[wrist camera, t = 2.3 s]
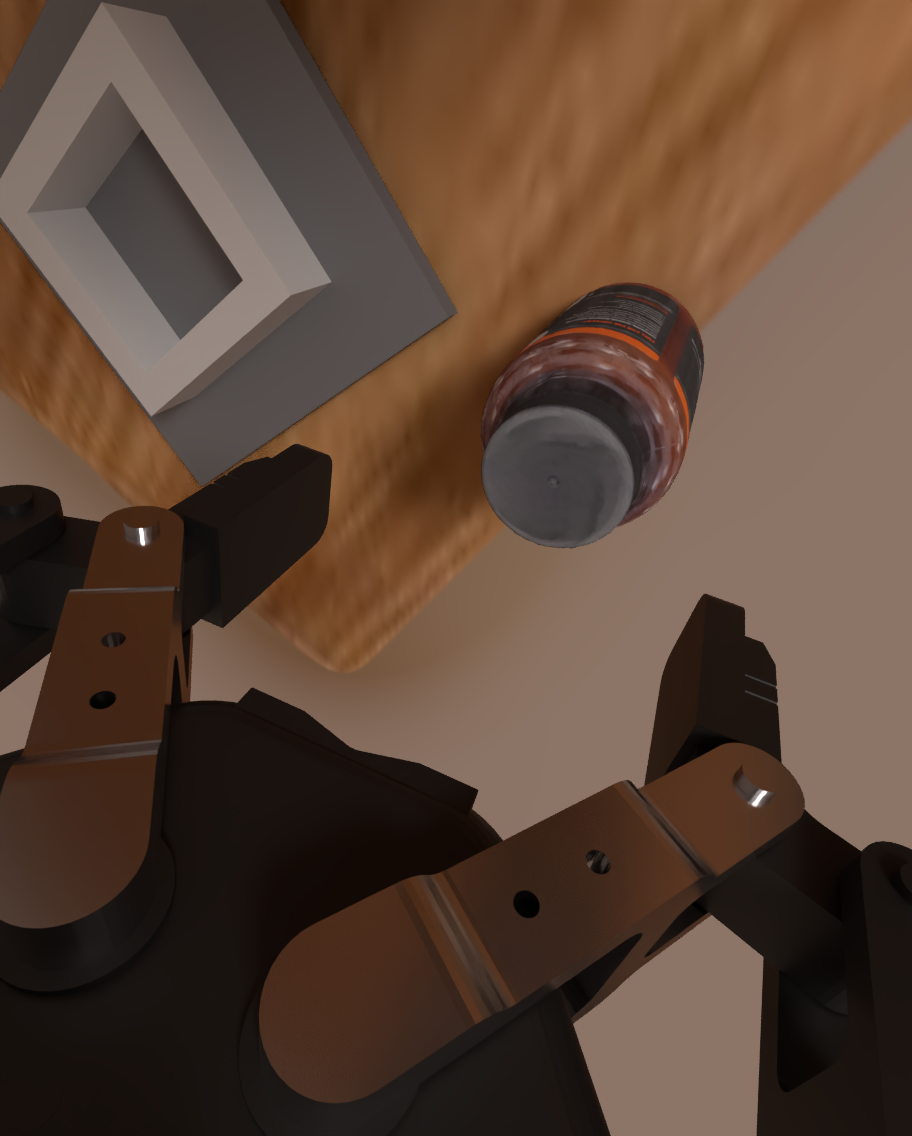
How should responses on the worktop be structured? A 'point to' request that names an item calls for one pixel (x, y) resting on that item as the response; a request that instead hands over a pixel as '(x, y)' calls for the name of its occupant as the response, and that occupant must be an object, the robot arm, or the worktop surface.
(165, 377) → the collar plate
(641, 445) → the supplement bottle
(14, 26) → the worktop surface
